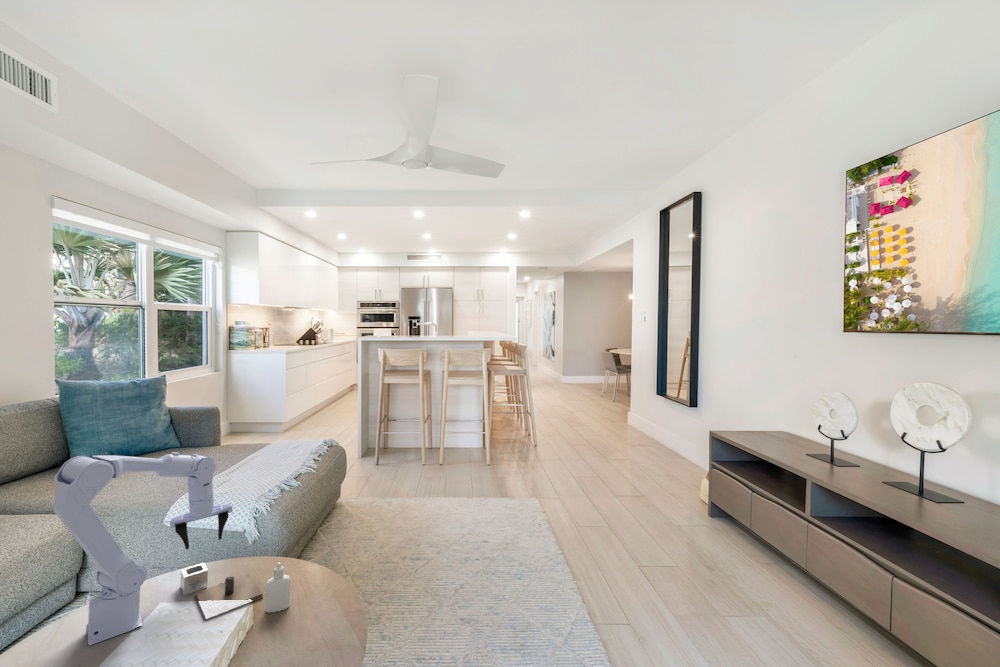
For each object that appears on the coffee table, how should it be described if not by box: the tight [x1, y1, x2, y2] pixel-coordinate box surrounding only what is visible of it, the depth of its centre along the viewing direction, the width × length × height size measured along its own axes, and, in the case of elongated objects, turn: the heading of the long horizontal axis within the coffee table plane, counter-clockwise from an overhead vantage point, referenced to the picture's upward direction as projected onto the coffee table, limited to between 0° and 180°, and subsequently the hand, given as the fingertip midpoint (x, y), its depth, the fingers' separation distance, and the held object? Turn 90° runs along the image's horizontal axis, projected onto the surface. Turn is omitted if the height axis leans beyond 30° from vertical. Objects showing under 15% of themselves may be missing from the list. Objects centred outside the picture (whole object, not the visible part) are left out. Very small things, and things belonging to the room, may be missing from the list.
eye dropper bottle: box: [265, 562, 291, 613], centre depth 109 cm, size 4×6×12 cm
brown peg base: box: [195, 573, 264, 602], centre depth 113 cm, size 13×13×5 cm
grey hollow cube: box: [179, 562, 209, 596], centre depth 117 cm, size 5×5×5 cm
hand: (204, 542), depth 119 cm, fingers open, 7 cm apart
